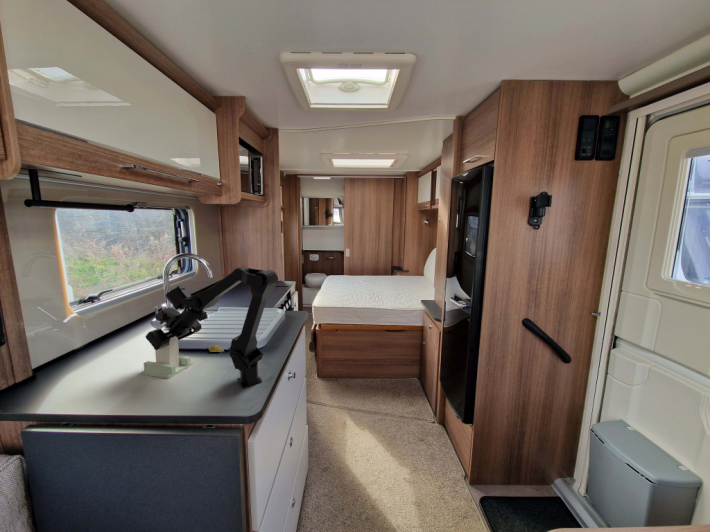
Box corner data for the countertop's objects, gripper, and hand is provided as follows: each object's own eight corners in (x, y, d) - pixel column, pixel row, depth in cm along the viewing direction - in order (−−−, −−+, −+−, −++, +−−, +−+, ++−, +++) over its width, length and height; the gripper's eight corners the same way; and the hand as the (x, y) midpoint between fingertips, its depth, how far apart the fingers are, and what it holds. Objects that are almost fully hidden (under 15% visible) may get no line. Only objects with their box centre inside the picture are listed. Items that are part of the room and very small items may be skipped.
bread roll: (211, 355, 114) (211, 346, 113) (206, 348, 120) (205, 339, 120) (232, 350, 119) (232, 341, 119) (226, 343, 126) (225, 335, 125)
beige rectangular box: (179, 365, 103) (177, 331, 101) (170, 370, 99) (167, 335, 97) (166, 363, 104) (164, 330, 103) (156, 368, 100) (154, 333, 99)
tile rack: (193, 364, 106) (193, 355, 105) (168, 378, 95) (168, 369, 95) (167, 360, 108) (167, 351, 108) (140, 374, 98) (139, 364, 97)
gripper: (193, 295, 107) (171, 321, 110) (147, 308, 89) (123, 338, 92) (212, 317, 106) (189, 342, 110) (169, 334, 88) (144, 363, 92)
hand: (163, 345), depth 101 cm, fingers open, 6 cm apart
